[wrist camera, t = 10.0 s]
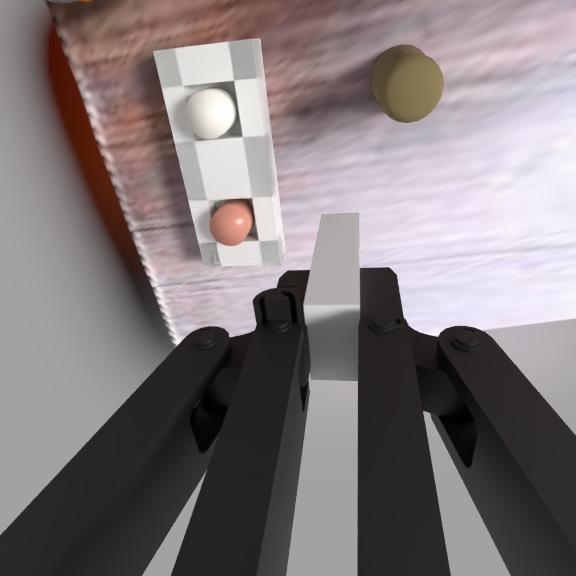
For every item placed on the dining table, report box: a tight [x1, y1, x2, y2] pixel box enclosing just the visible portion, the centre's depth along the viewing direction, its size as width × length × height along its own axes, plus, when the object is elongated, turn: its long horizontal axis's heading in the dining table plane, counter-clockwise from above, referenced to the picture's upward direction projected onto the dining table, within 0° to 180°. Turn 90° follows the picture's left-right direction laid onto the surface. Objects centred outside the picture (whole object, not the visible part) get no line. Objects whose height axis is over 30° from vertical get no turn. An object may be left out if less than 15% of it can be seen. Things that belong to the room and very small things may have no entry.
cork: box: [370, 45, 443, 123], centre depth 37 cm, size 6×6×11 cm
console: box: [153, 38, 285, 266], centre depth 47 cm, size 24×10×4 cm, turn 6°
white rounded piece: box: [185, 86, 239, 139], centre depth 42 cm, size 4×4×4 cm
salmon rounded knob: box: [210, 198, 255, 246], centre depth 48 cm, size 4×4×4 cm
